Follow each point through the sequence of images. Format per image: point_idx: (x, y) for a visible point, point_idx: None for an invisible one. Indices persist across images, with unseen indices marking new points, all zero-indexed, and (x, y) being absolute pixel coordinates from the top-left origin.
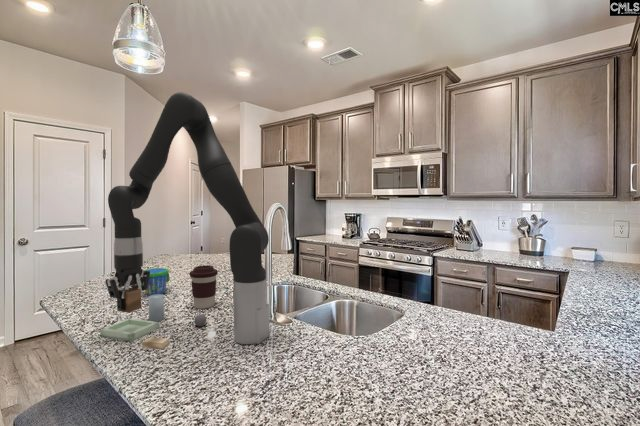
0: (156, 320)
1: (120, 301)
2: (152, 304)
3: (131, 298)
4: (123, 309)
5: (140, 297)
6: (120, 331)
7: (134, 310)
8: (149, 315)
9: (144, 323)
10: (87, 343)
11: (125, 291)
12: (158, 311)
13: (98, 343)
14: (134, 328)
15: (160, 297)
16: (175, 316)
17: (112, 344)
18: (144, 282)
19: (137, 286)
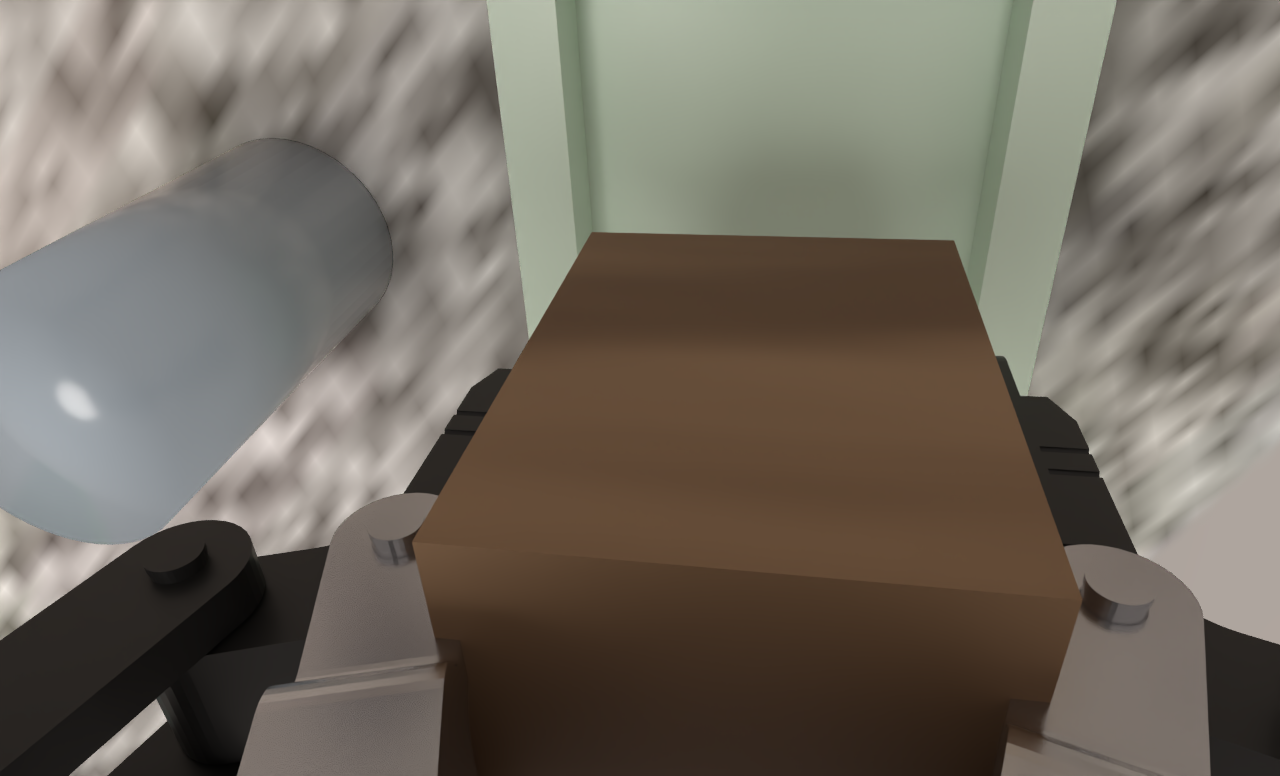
0: (337, 176)
1: (1127, 546)
2: (234, 334)
3: (886, 412)
4: (1008, 373)
5: (543, 359)
6: (1032, 182)
7: (782, 239)
8: (352, 309)
9: (574, 152)
10: (1233, 418)
11: (1067, 740)
12: (236, 203)
13: (1225, 292)
14: (703, 214)
15: (7, 298)
16: (64, 67)
17: (1253, 64)
18: (47, 763)
19: (453, 719)
